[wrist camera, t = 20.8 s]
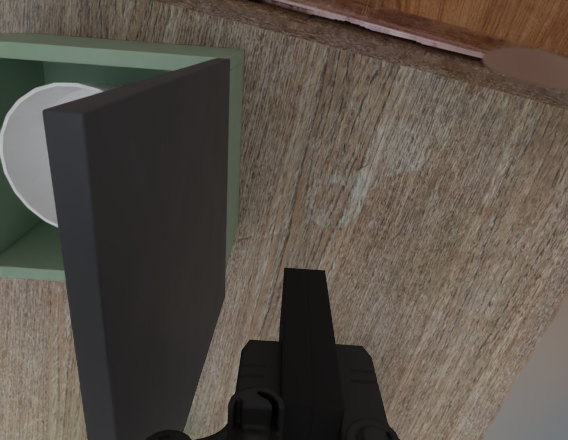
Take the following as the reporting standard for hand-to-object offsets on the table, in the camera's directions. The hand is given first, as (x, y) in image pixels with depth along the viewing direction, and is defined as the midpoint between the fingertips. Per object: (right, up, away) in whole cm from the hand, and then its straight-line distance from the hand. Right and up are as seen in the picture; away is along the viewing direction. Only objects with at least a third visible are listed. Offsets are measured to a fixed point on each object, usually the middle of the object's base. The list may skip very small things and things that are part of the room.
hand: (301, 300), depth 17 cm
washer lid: (-5, +2, +3) cm, 6 cm away
